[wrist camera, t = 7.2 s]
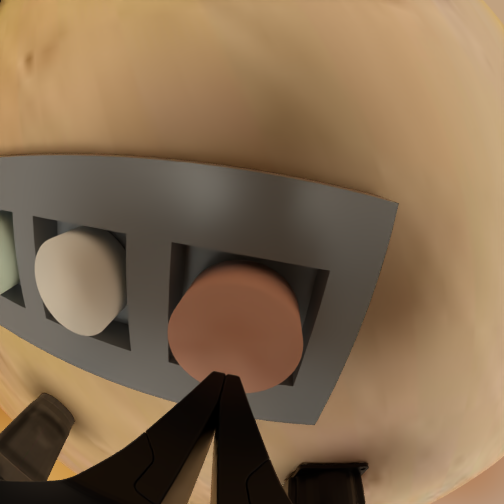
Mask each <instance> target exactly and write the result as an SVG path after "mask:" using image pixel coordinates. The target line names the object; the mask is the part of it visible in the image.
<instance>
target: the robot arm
mask: <svg viewBox="0 0 504 504" xmlns="http://www.w3.org/2000/svg"><path fill="white" fill-rule="evenodd" d="M214 433H215V436H214ZM213 436H214V448H213V464H212V481H211V501H210V504H365V497H364V490H363V484H362V478H361V475H362V474H363V473H364V472H365V471H366V470H367V469H368V468H369V466H368V464H367V463H360V464H338V465H312V464H303V465H300V466H299V467H298V468H297V470H296V471H295V472H294V474H293V475H292V477H290V478H289V479H288V480H287V481H286V482H285V484H284V485H283V487H282V485H281V483H280V481H279V479H278V477H277V474H276V472H275V470H274V468H273V465H272V463H271V460H269V455H268V453H267V450H266V448H265V445H264V442H263V440H262V437H261V434H260V432H259V429H258V426H257V424H256V421H255V418H254V416H253V413H252V410H251V407H250V404H249V402H248V399H247V396H246V393H245V390H244V387H243V384H242V382H241V379H240V377H239V376H237V375H232V374H227V375H226V374H225V373H222V372H217V371H213V372H211V373H210V374H209V375H208V376H207V377H206V378H205V379H204V380H203V381H202V382H201V383H199V384H198V385H197V386H196V387H195V388H194V389H193V390H192V391H191V392H190V393H189V394H187V395H186V396H185V397H184V398H183V399H182V400H181V401H180V402H179V403H177V404H176V405H175V406H174V407H173V408H172V409H171V410H170V411H168V412H167V413H166V414H165V415H164V416H163V417H162V418H160V419H159V420H158V421H157V422H156V423H155V424H153V425H152V426H151V427H150V428H149V429H147V430H146V433H145V432H144V433H143V434H141V435H140V436H139V437H138V438H137V439H135V440H134V441H133V442H131V443H130V444H129V445H127V446H126V447H125V448H123V449H122V450H120V451H119V452H117V453H115V454H114V455H112V456H111V457H109V458H107V459H105V460H104V461H102V462H100V463H98V464H96V465H95V466H93V467H91V468H89V469H87V470H85V471H83V472H81V473H79V474H77V475H75V476H73V477H70V478H67V479H63V480H56V481H7V480H0V504H187V503H188V500H189V498H190V496H191V493H192V491H193V488H194V486H195V483H196V481H197V478H198V476H199V473H200V470H201V468H202V465H203V463H204V460H205V458H206V455H207V453H208V450H209V447H210V445H211V442H212V439H213Z"/></svg>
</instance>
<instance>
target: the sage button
mask: <svg viewBox="0 0 504 504" xmlns="http://www.w3.org/2000/svg"><path fill="white" fill-rule="evenodd" d="M18 283H20V277H19V271H18V265H17V257H16V249H15V240H14V228H13V212H10V211H5V210H2V211H0V294H2V293H4V292H5V291H7V290H8V289H10V288H12V287H13V286H15V285H16V284H18Z"/></svg>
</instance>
